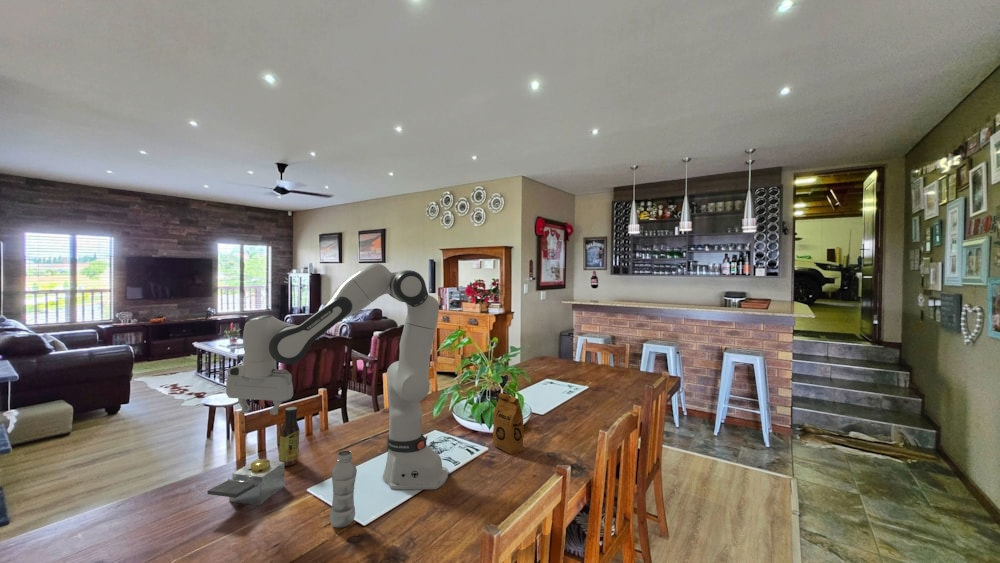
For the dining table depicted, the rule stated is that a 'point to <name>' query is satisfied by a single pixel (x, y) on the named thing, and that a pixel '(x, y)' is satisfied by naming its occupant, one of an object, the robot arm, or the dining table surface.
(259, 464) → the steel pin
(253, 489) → the grey box-shaped block
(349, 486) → the plastic bottle
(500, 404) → the coffee package
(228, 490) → the dark grey flat plate
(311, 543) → the dining table surface
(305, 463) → the dining table surface
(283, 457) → the sauce bottle
